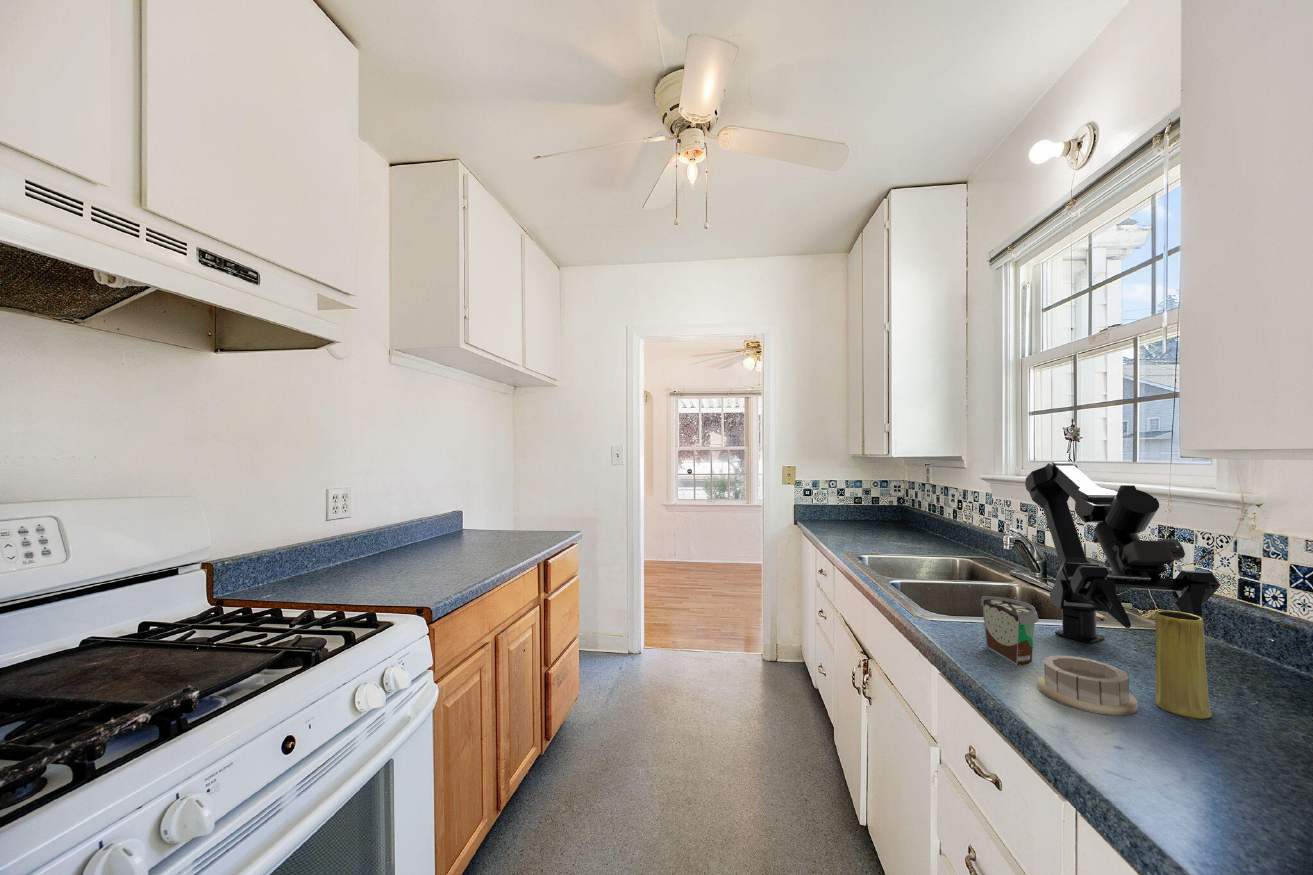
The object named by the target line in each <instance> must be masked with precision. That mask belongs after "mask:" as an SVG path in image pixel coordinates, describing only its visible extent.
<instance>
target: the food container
mask: <svg viewBox="0 0 1313 875" xmlns="http://www.w3.org/2000/svg"><path fill="white" fill-rule="evenodd" d="M980 600H981V601H980V606H982V613H983V622H984V623H983V624H984V635H985V637H984V638H985V646H986V648H987V649H989V650H991V651H993V652H994V653H996V654H997V655H999V656H1001V657H1002V658H1004V659H1006V660H1008V661H1010V662H1011V663H1012V664H1015V665H1016V666H1025V665H1030V664H1031V663H1033V650H1034V649H1033V648H1034V633H1035V624H1036V623H1038V622H1039V619H1040V618H1039V616H1038V612H1037V610H1036V608H1035V606H1033V605H1032V604H1030V603H1028V602H1025V601H1021V600H1017V599H1012V598H1007V597H1002V596H1001V597H1000V596H989V595H988V596H987V595H982V596H981V599H980Z"/></svg>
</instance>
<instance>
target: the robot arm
mask: <svg viewBox="0 0 1313 875" xmlns="http://www.w3.org/2000/svg"><path fill="white" fill-rule="evenodd" d="M1024 485H1025V489H1026V491H1027V492H1028V493H1029V496H1030V498H1031V501H1033V502H1034V503H1035V504H1036V505H1037V506H1038V507H1040V508H1042V510H1043V513H1044V516H1045V519H1046V522H1047V525H1048V528H1049V532H1050V535H1051V539H1052V542H1053V545H1054V548H1055V552H1056V555H1057V558H1058V561H1059V565H1060V567H1059V569H1058V571H1057V574H1056V576H1055V583H1054V585H1053V586H1052V588H1051V591H1050V592H1049V597H1050V603H1051V605H1054V606H1055V607H1056V608H1058V609H1060V610H1061V619H1062V620H1061V622H1062V629H1060V630H1056V631H1055V632H1054V634H1055V635H1058V636H1060V637H1064V638H1068V639H1072V640H1076V641H1079V642H1083V643H1087V644H1092V643H1095V642H1098V641H1102V640H1105V639H1106V635H1102V634H1098V631H1097V630H1098V629H1097V612H1104V613H1108V614H1109V615H1110V616H1111V617H1113V619H1114V620H1116V621H1117V622H1118V623H1120V625H1122V626H1123V627H1124V628H1125V629H1131V626H1132V624H1131V621H1130V618H1129V615H1128V614H1127V612H1126V609H1125V607H1124V605H1123V604H1122V602H1121V599H1120V598H1119V596H1118V594H1117V591H1116V590H1117V589H1116V588H1125V589H1126V588H1127V589H1130V590H1131V589H1132V590H1148V591H1163V592H1164V591H1166V592H1171V595H1172V597H1173V598H1174V599H1176V602H1175V605H1176V607H1178V610H1179V612H1184V613H1189V614H1193V615H1196V616H1199V617H1201V618H1202V619H1203V603H1206V602H1208V601H1209V599H1210V598H1211V597H1212V596H1213V595H1214V594H1215V592H1216V591H1217V590H1218V589H1219V588H1221V587H1220V586H1221V585H1222V584H1221V583H1220V582H1219V580H1218V578H1217V577H1216V575H1215V574H1214V573H1213V572H1209V571H1203V570H1200V571H1199V570H1184V569H1183V570H1180V571H1179V573H1178V574H1177V576H1176V577H1175V578H1172V577H1171V578H1170V577H1169V578H1168V577H1161V576H1160V574H1164V573H1165V572H1166V570H1167V567H1166V566H1165V565H1167V564H1168V563H1174V562H1175V561H1178V560H1181V559H1184V558H1185V557H1186V553H1185V552H1186V551H1185V548H1184V547H1183V545H1182V544H1181V542H1180V541H1179V540H1178V539H1176V538H1164V539H1163V540H1141V538H1140V537H1139V535H1138V534H1139V533H1143V532H1145V531H1146V529H1147V527H1148V526H1149V524H1150V523H1151V522H1152V520H1153V519H1154V516H1155V515H1156V513H1157V512H1158V510H1159V508H1160V502H1159V500H1158V499H1157V497H1154V496H1153V495H1152V494H1150V493H1148V492H1145V491H1143V490H1139V489H1137V488H1136V485H1134V484H1133V485H1132V484H1131V485H1127V484H1124V485H1123V484H1121V485H1120V486H1119V488H1118V490H1117V491H1116V490H1113V489H1109V488H1104V487H1101V486H1099V485H1098V484H1096V483H1095V482H1094V481H1093V480H1092V479H1090V478H1089V477H1088V476H1087V475H1086V474H1085V473H1083V472H1082V471H1081V470H1080V469H1079V468H1078V465H1077V463H1075V462H1071V461H1052V462H1049V463H1046V465H1045V466H1042V467H1040V468H1038V469H1035V470H1032V471H1031V472H1030V473H1029V474H1028V475H1027V476H1026V477H1025V482H1024ZM1070 498H1072V500H1074V502H1075V503H1074V511H1075V513H1076V516H1078V517H1079V519H1080V520H1081V521H1082V522H1083V523H1088V524H1089V523H1090V524H1091V523H1093V524H1094V523H1095V524H1096V523H1097V524H1096V525H1095V528H1094V530H1093V533H1094V534H1093V536H1092V542H1093V543H1095V544H1099V545H1100V547H1101V549H1102V552H1103V554H1104V556H1105V558H1106V559H1105V560H1104V562H1103V563H1104V564H1105V566H1101V565H1099V564H1098V563H1091V562H1090V561H1089V560H1088V558H1087V556H1086V554H1085V551H1084V547H1083V545H1082V542H1081V539H1080V536H1079V533H1078V530H1077V527H1076V524H1075V521H1074V518H1073V516H1072V513H1071V510H1070V507H1069V503H1068V501H1069V500H1070ZM1108 568H1111V570H1112V573H1113V574H1110V573H1109V570H1108Z"/></svg>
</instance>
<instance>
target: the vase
mask: <svg viewBox="0 0 1313 875" xmlns="http://www.w3.org/2000/svg"><path fill="white" fill-rule="evenodd" d="M1154 614H1155V681H1154V682H1155V683H1154V684H1155V685H1154V686H1155V698H1154V703H1155V705H1156V706H1157V707H1158V708H1160V709H1162V710H1164V711H1166V712H1168V713H1171V714H1175V715H1178V716H1181V717H1185V718H1191V719H1197V720H1199V719H1200V720H1205V719H1209V718H1211V717H1212V711H1211V708H1210V699H1209V687H1208V676H1207V664H1206V663H1207V662H1206V652H1205V650H1206V647H1205V646H1206V645H1205V644H1206V643H1205V627H1204V620H1203V617H1202V618H1201V617H1199V616H1196V615H1193V614H1189V613H1184V612H1181V611H1178V610H1177V611H1176V610H1156V611H1155V613H1154Z"/></svg>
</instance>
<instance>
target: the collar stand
mask: <svg viewBox="0 0 1313 875" xmlns="http://www.w3.org/2000/svg"><path fill="white" fill-rule="evenodd" d="M1043 673H1044V674H1043V675H1040V676H1039V677H1038V678H1037V688H1038V690H1039V692H1040V693H1041V694H1043V695H1044V696H1045V697H1047V698H1049V699H1051V700H1053V701H1055V702H1057V703H1059V704H1061V705H1065V706H1067V707H1070V708H1074V709H1077V710H1081V711H1085V712H1088V711H1089V713H1094V714H1098V713H1099V714H1100V715H1107V716H1128V715H1132V714H1135V713H1137V711H1138V701H1137V698H1136V697H1135V696H1134V695H1133V694H1131V693H1130V681H1129V680H1130V678H1129V676H1128V675H1127V673H1126V672H1125V671H1123V670H1122V669H1119V668H1117V667H1116V666H1114V665H1111V664H1108V663H1105V662H1103V661H1097V660H1095V659H1090V658H1086V657H1081V656H1072V655H1049V656H1048V657H1047V656H1046V657H1044V658H1043Z"/></svg>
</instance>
